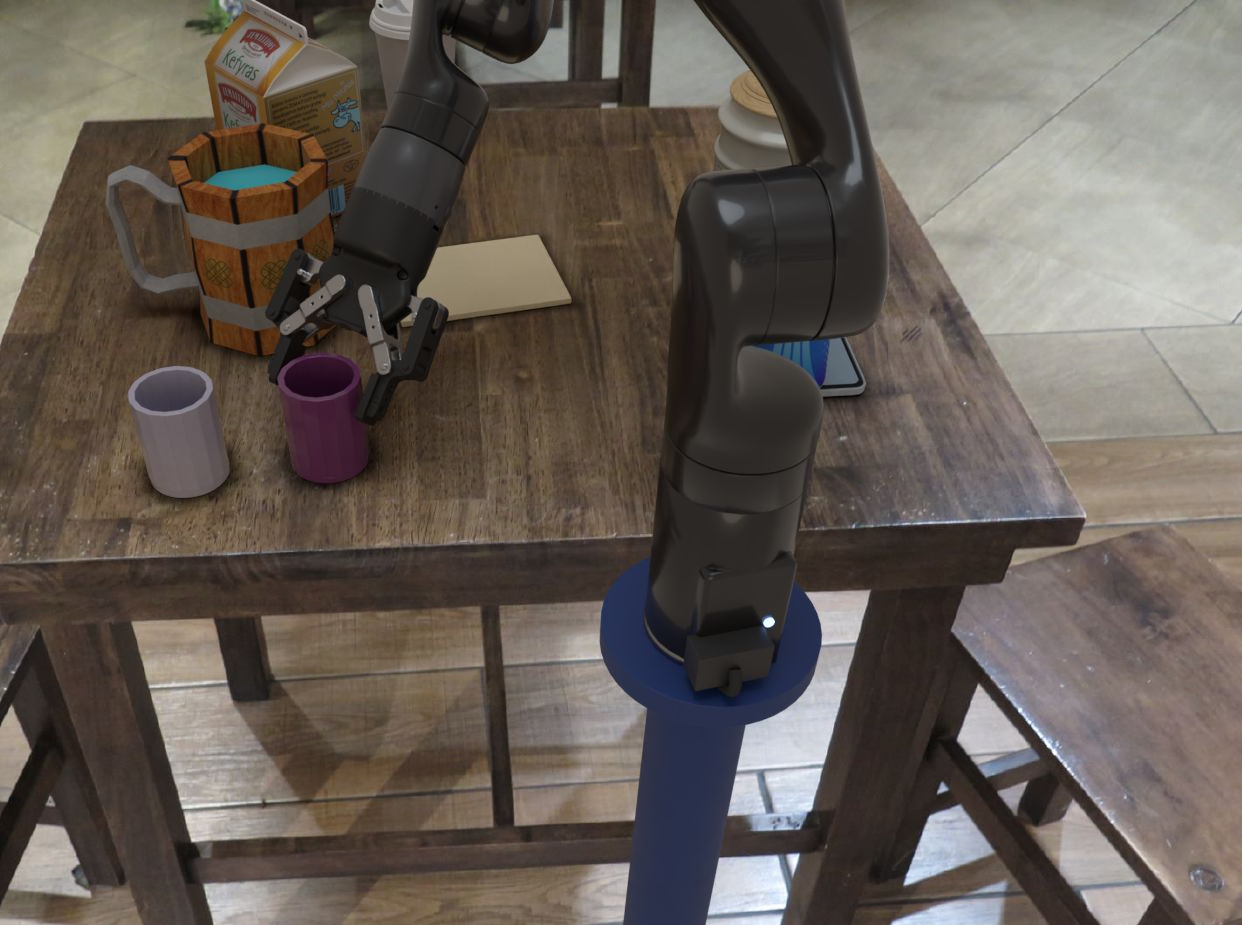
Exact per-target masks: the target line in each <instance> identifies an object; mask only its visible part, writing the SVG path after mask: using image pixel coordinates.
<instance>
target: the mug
mask: <svg viewBox="0 0 1242 925" xmlns="http://www.w3.org/2000/svg"><path fill="white" fill-rule="evenodd" d="M167 161H168V164H169V167H170V170H171V173H172V176H173V180H174V182H175V185H176V187H171V186H170V185H168V184H167V183H165V182H164V181H163V180H161V179H160V178H159V177H158V176H156V175H155V174H154V173H152V172H151V171H150V170H147V169H144V168H141V167H138V166H136V165H132V164H130V165H127V166H125V167H123V168H121V169H118V170H116V171H114V172H111V173H110V174H108V176H107V182H106V191H105V192H106V193H105V201H104V204H105V207H106V210H107V213H108V215H109V218H110V220H111V224H112V226H113V228H114V231H115V234H116V238H117V242H118V246H119V250H120V254H121V256H122V259H123V261H124V265H125V267H126V271H127V273H128V274H129V275H130V276H131V278H132V279H133V280H134V281H135V283H136V284H137V286H139V288H140V289H142V290H145V291H148V292H150V293H154V294H156V295H159V296H160V295H164V294H168V293H169V294H170V293H173V292H178V291H185V290H192V289H197V288H198V302H199V313H200V316H201V319H202V323H203V325H204V328H205V330H206V333H207V336H208V339H209V342H210V343H211V344H214V345H218V346H221V347H225V348H229V349H232V350H236V351H239V352H243V353H245V354H249V355H253V356H257V357H263V356H268V355H273V353H274V350H275V348H276V345H277V343H278V340H279V338H280V330H279V328H278V327H277V326H276V325H275V324H274V323H273V322H272V321H271V320H269V319H267V318H266V315H265V311H266V309H267V306H268V304H269V302H270V300H271V298H272V295H273V293H274V291H275V289H276V287H277V284H278V282H279V280H280V278H281V276H282V273H283V271H284V269H285V267H286V265H287V262H288V260H289V258H290V256H291V254H292V252H293V251H294V250H295V249H302V250H303V251H305V252H307V253H308V254H310V255H312V256H313V257H315V258H317V259H318V260H319V261H322V262H325V261H326V260H327V259H328V258H329V256H330V255H331V253H332V251H333V237H334V234H335V231H336V229H335V226H334V222H333V217H331V212H330V203H329V195H328V160H327V158H326V156H325V154H324V153H323V151H322V149H321V147H320V145H319V144H318V142H317V140H316V138H315V137H314V135H313V134H310V133H305V132H300V131H296V130H291V129H287V128H282V127H278V126H273V125H268V124H264V123H260V124H254V125H247V126H241V127H235V128H228V129H222V130H216V129H215V130H210V131H204V132H203V131H202V132H201V133H200V134H199V135H197V136H196V137H195V138H194V139H192V140H190V141H189V142H188V143H186V144H185V145H183V146H182V147H180V148H179V149H178V150H176V151H175V152H174V153H172V154H171V155H169V156H168V157H167ZM127 182H128V183H131V184H133V185H136V186H138V187H141V188H142V189H144V190H145V191H146V192H147V193H149V194H150V195H151V196H152V197H153V198H154V199H155V200H157V201H159V202H161V203H163V204H164V205H171V206H178V207H180V209H181V218H182V227H183V236H184V241H185V244H186V247H187V251H188V254H189V256H190V259H191V262H192V267H193V270H194V271H189V272H182V273H176V274H173V275H170V276H167V277H164V278H161V277H159V276H156V275H154V274H150V273H149V272H148V270H147V269H146V267H145V266H144V265H143V263H142V262H141V260H140V258H139V254H138V250H137V247H136V243H135V239H134V235H133V231H132V226H131V223H130V221H129V218H128V216H127V214H126V211H125V209H124V206H123V204H122V201H121V199H120V185H122V184H124V183H127ZM318 280H319V279H318ZM320 289H321V287H320V281H318V283H317V284H314V285H312V286H311V288H310V291H309V293H308V295H307V297H306V299H308V298H309V297H310V296H312V295H313V294H314V293H316V292H317V291H319V290H320ZM306 299H305V300H306ZM322 310H324V309H322ZM336 326H337V325H336V324H335V325H334V326H333V327H331V328H330V329H327V330H322V331H320V332H319V333H317V334H316V335H315V336H313V337H312V338H310V339H309V340H308V341H306V342H305V343H303V344H302V345H305V346H307V347H306V348H308V347H312V346H316V345H318V344H319V343H320V342H321V341H322V340H323V339H325V337H326V336H327V335H328V334H329V333H330V332H331V331H332V330H333V329H334V328H336Z"/></svg>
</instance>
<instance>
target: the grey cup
mask: <svg viewBox="0 0 1242 925" xmlns="http://www.w3.org/2000/svg"><path fill="white" fill-rule="evenodd" d="M127 400H128V405H129V408H130V412H131V415H132V419H133V422H134V427H135V431H136V434H137V438H138V442H139V445H140V449H141V453H142V457H143V460H144V464H145V468H146V471H147V475H148V478H149V480H150V483H151V485H152V487H153V488H154V489H155V490H156V491H157V492H159V493H160V494H161V495H164V496H167V497H171V498H175V499H176V498H177V499H190V498H197V497H200V496H203V495H206V494H209V493H211V492H213V491H215V490H216V489H218V488H219V487H221V486H222V484H224V483H225V481H226V480H227V478H228V477H229V474H230V470H231V467H230V461H229V455H228V449H227V446H226V440H225V435H224V430H223V426H222V421H221V417H220V411H219V407H218V406H219V405H218V402H217V396H216V393H215V388H214V384H213V379H212V378H211V377H210V376H209V375H208V374H207V373H206V372H205V371H203V370H200V369H198V368H195V367H192V366H183V365H173V366H166V367H160V368H157V369H153V370H151V371H149V372H146V373H144V374H143V375H141V376H140V377H139V378H137V379H136V380H135V381H134V382H133V383H132V385H131V386H130V388H129V390H128V391H127Z"/></svg>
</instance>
